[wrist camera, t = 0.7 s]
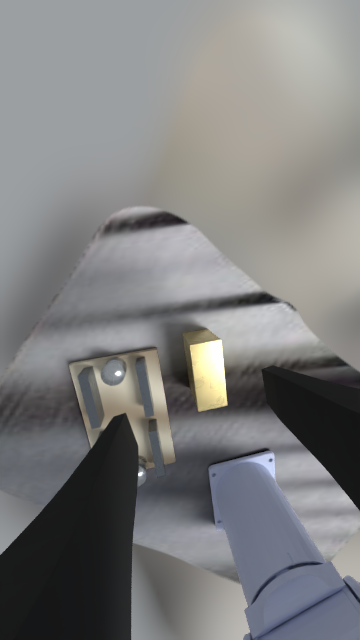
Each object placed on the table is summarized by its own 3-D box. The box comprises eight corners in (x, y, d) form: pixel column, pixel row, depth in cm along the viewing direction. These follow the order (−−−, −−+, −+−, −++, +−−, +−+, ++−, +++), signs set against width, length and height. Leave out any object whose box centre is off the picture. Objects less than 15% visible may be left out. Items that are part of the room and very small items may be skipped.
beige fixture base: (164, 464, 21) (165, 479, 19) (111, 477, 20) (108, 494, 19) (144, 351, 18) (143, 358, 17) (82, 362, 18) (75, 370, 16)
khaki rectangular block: (213, 382, 21) (227, 405, 17) (189, 387, 20) (198, 411, 16) (207, 328, 19) (221, 339, 16) (182, 332, 19) (189, 345, 15)
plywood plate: (175, 457, 21) (175, 461, 21) (101, 475, 21) (100, 480, 20) (156, 347, 19) (156, 349, 18) (71, 362, 18) (68, 365, 17)
